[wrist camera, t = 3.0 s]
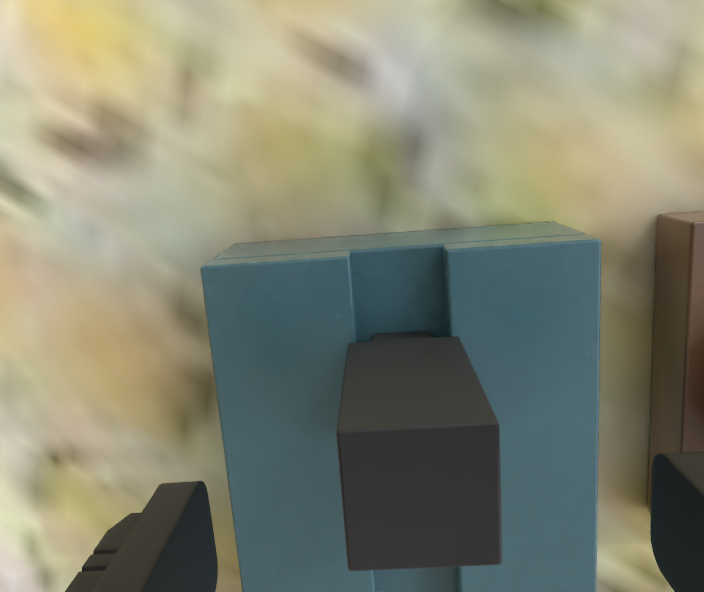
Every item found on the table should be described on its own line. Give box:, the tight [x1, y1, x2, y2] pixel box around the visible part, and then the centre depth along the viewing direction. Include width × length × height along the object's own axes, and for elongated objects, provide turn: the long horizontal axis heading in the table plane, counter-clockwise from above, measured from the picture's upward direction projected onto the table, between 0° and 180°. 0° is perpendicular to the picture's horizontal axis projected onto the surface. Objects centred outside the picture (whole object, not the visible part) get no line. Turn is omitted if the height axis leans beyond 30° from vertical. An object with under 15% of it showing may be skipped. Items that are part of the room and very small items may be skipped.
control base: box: [201, 222, 601, 592], centre depth 19 cm, size 16×10×5 cm, turn 4°
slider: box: [336, 330, 503, 571], centre depth 14 cm, size 3×3×6 cm
